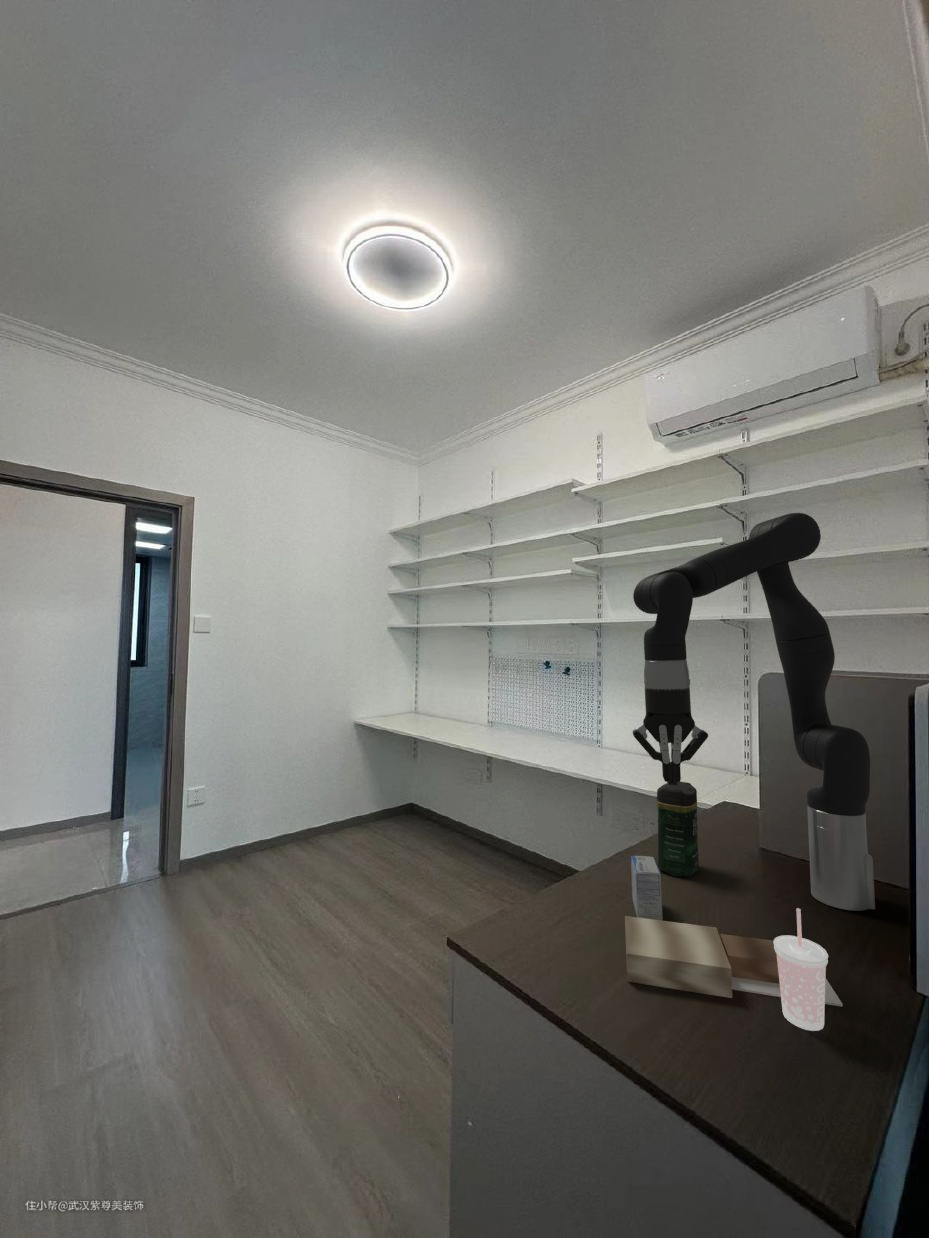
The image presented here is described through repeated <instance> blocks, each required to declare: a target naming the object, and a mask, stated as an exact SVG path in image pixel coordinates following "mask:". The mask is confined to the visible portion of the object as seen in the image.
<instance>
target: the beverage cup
mask: <svg viewBox="0 0 929 1238" xmlns="http://www.w3.org/2000/svg"><path fill="white" fill-rule="evenodd" d="M795 911H796V926H797V927H796V930H797V933H796V934H797V936H796V935H792V934H791V935H789V934H788V935H785V934H783V935H779V936H776V937H774V939H773V944H774V949H775V952H776V954H777V963H778V973H779V982H780V992H781V997H780V1000H781V1009H782V1014H783V1016H784V1018H785V1019H786V1020H787V1021H788V1022H790V1023H791V1024H792V1025H794V1026H796V1027H798V1028H799V1029H802V1030H805V1031H811V1032H815V1031H816V1032H817V1031H818V1032H819V1031H821V1030H823V1029H824V1027H825V1006H826V1004H825V978H826V976H827V975H826V971H827V966H828V963H829V960H828V958H829V954H828V952H827V950H826V949H825V948H823V947H822V945H820V944H819V943H816V942H814V941H812V940H811V939H807V938H803V935H802V913H801V911H802V909H801V908H799V907H797V908H796V909H795Z"/></svg>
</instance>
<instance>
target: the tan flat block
mask: <svg viewBox="0 0 929 1238" xmlns="http://www.w3.org/2000/svg"><path fill="white" fill-rule="evenodd" d="M624 926H625V927H624V928H625V929H624V931H625V932H624V933H625V934H624V935H625V957H626V959H625V960H626V979H627V982H629V983H635V984H641V985H647V986H653V987H660V988H666V989H671V990H679V991H685V992H691V993H692V992H693V993H697V994H703V995H709V996H716V997H724V998H729V999H733V990H732V972H731V966H730V963H729V961H728V958H727V955H726V953H725V950H724V947H723V944H722V942H721V939H720V934H719V931H718V929H717V927H714V926H707V925H700V924H699V925H698V924H691V923H683V922H675V921H667V920H663V921H661V920H653V919H645V918H637V916H629V915H624Z"/></svg>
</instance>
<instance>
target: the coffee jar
mask: <svg viewBox="0 0 929 1238" xmlns="http://www.w3.org/2000/svg"><path fill="white" fill-rule="evenodd" d="M656 790H657V791H656V807H657V867H658V869H659V871H660V870H661V871H663V872H665V873H667V874H668V875H671V876H673V877H674V876H675V877H692V876H694V875H695V873H697V872H698V869H699V865H700V864H699V863H700V862H699V860H700V859H699V839H698V838H699V837H698V835H699V834H698V791H697V789H696V787H695V786H693V785H692V784H691V783H690V782H687V781H680V782H677V785H668V784H667V782H666V783H664V784H663V785H661V786H660V787H658V788H657V789H656Z"/></svg>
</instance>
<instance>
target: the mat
mask: <svg viewBox="0 0 929 1238" xmlns="http://www.w3.org/2000/svg"><path fill="white" fill-rule="evenodd" d="M733 990H734V991H738V992H746V993H750V994H751V993H752V994H757V995H758V994H759V995H765V996H770V997H771V996H772V997H777V998H781V992H780V984H777V983H770V982H763V981H757V980H750V979H743V978H736V977H732V991H733ZM825 1005H830V1006H836V1007H843V1006H844V1005H843V1002H842V1000H840V998H839V996H838V994H836V992H835V991H834V989H833V987H832V986H831V984H830V982H829V981H828V979H827V978H826V977H825Z"/></svg>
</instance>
